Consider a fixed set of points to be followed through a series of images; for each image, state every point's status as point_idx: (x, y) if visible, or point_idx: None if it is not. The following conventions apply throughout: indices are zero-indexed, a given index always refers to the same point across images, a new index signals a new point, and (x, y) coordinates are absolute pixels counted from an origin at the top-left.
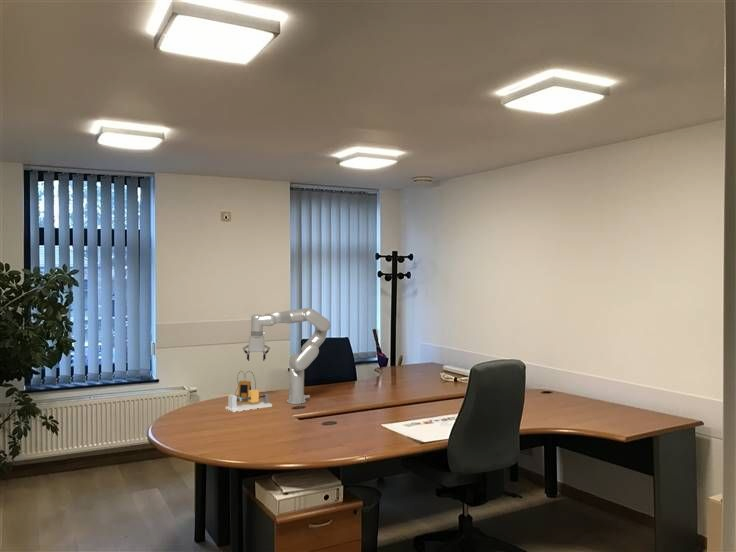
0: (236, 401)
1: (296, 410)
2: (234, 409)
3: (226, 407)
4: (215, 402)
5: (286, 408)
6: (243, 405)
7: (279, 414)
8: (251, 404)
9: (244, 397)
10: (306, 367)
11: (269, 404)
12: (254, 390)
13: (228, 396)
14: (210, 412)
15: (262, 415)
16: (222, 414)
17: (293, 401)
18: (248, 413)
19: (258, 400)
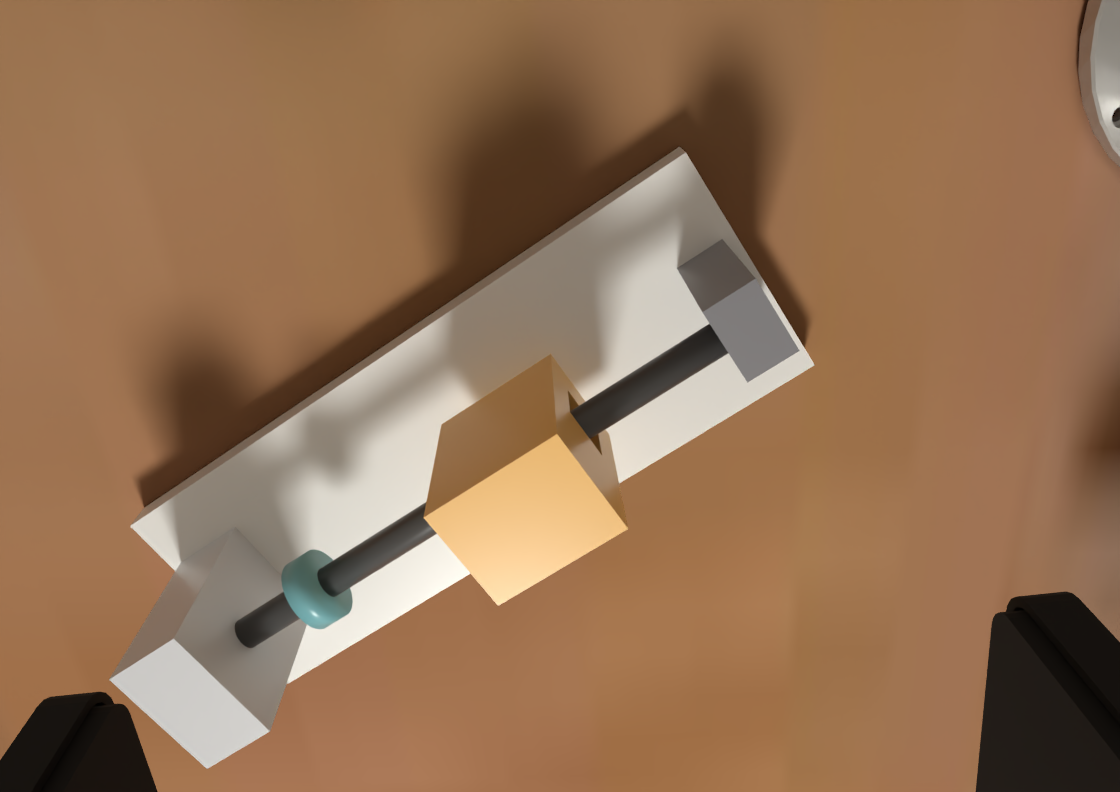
0: (289, 670)
1: (1115, 564)
2: (302, 671)
3: (153, 542)
4: None
5: (1002, 462)
6: (380, 455)
7: (873, 741)
8: (493, 389)
9: None
10: None
11: (773, 388)
12: (541, 524)
13: (119, 664)
14: (6, 673)
15: (674, 783)
16: None
17: None
18: (500, 708)
19: (609, 445)
